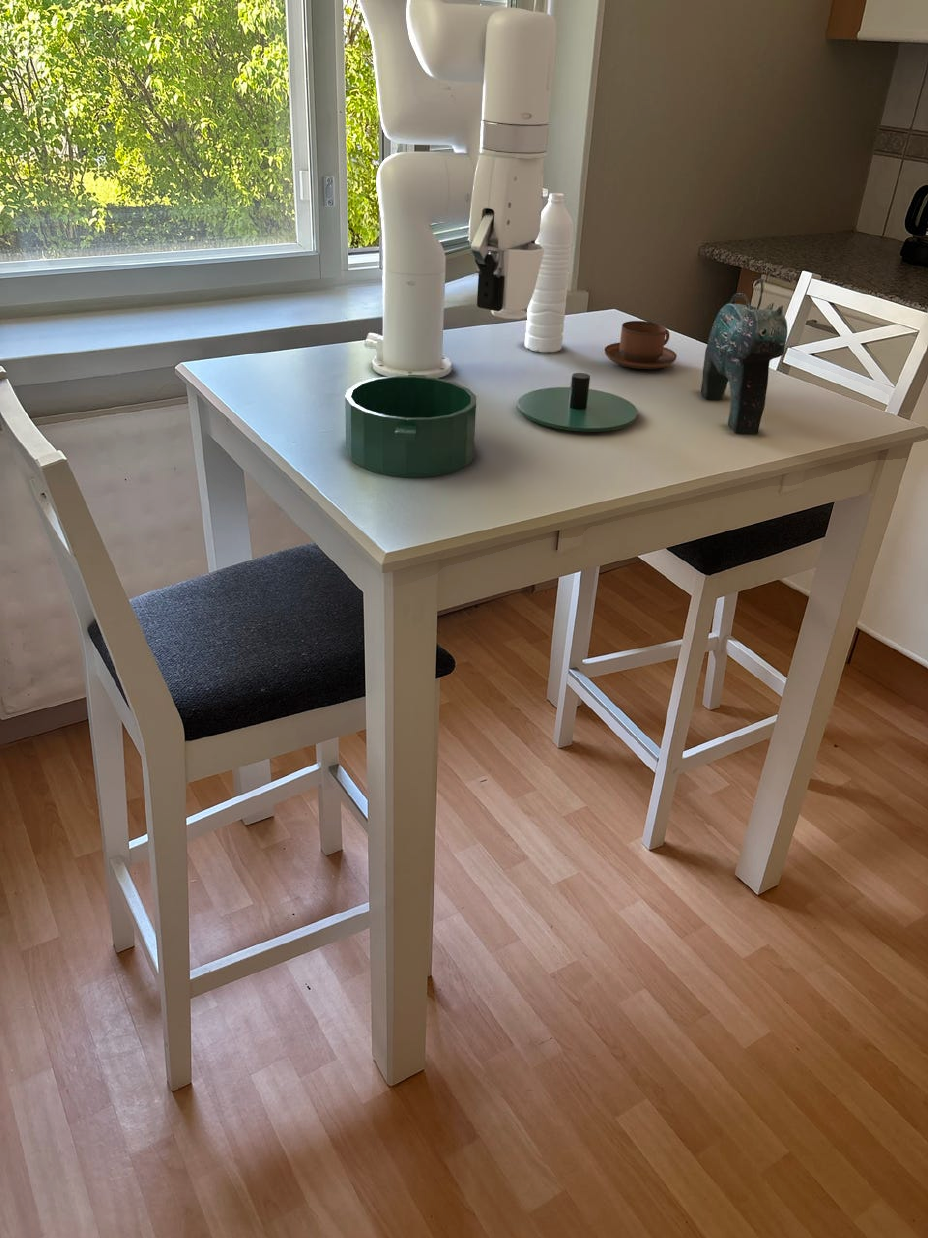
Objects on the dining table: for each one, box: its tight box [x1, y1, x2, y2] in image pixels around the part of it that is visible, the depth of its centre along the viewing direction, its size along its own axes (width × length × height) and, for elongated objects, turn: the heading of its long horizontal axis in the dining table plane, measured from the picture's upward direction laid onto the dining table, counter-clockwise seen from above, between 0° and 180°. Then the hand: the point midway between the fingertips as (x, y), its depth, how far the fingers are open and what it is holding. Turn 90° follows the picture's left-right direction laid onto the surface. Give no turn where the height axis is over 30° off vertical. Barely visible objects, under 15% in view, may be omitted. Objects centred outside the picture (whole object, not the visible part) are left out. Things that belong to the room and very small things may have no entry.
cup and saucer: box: [604, 320, 678, 370], centre depth 164 cm, size 12×12×6 cm
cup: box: [489, 241, 545, 320], centre depth 118 cm, size 7×10×8 cm
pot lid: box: [517, 372, 639, 433], centre depth 141 cm, size 17×17×6 cm
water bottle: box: [524, 187, 574, 354], centre depth 165 cm, size 9×6×25 cm
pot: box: [344, 374, 477, 478], centre depth 126 cm, size 16×22×8 cm
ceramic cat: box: [700, 278, 788, 435], centre depth 141 cm, size 20×6×20 cm, turn 5°
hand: (502, 301), depth 119 cm, fingers closed on cup, 5 cm apart
